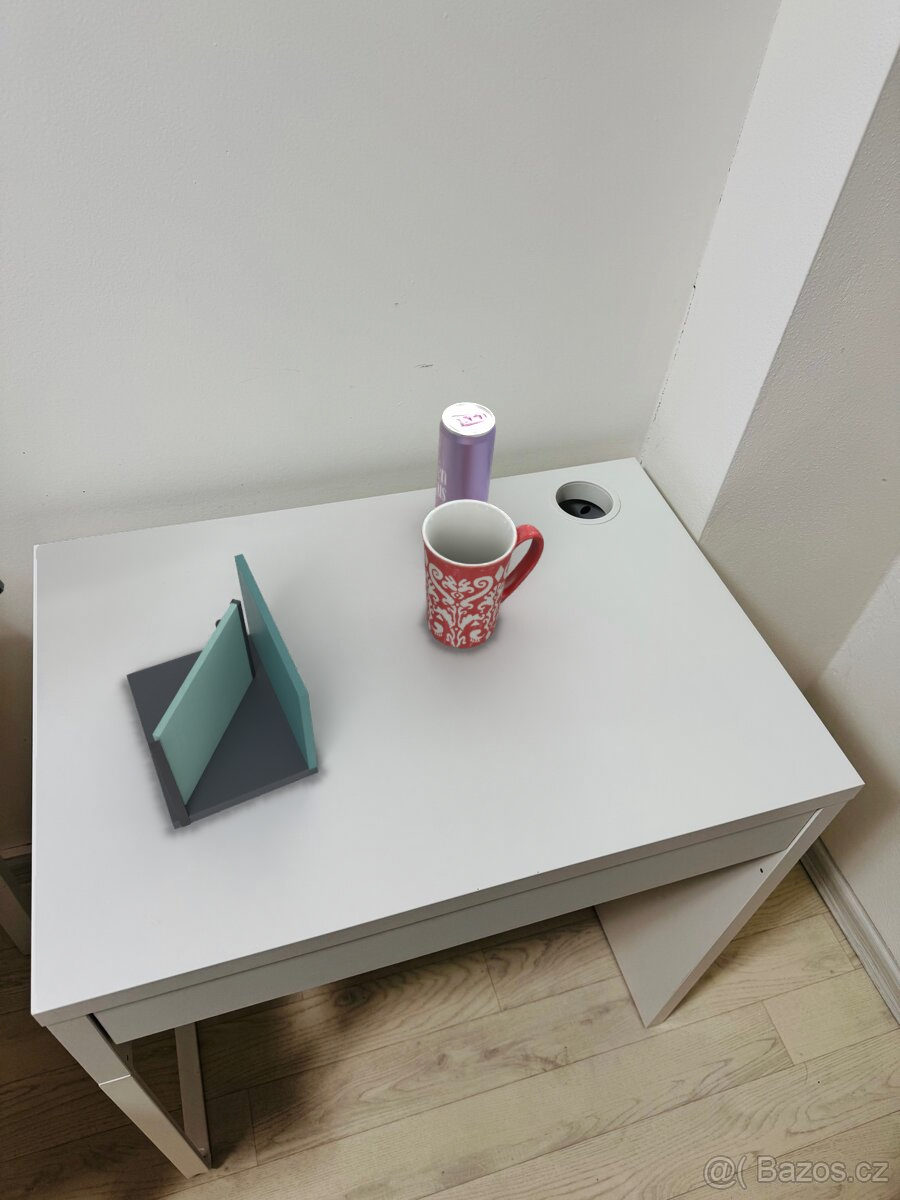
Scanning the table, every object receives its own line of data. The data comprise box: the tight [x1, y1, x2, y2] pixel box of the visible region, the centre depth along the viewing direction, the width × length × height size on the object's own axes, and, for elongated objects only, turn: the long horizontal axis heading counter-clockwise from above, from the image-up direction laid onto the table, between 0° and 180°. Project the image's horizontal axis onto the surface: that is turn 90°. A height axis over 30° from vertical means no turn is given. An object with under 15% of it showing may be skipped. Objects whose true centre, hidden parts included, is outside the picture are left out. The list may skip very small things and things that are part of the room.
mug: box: [421, 500, 545, 649], centre depth 84 cm, size 13×9×14 cm
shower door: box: [153, 598, 256, 805], centre depth 72 cm, size 2×14×11 cm, turn 165°
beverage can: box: [434, 402, 497, 509], centre depth 93 cm, size 6×6×15 cm
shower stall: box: [126, 553, 319, 830], centre depth 74 cm, size 13×17×12 cm
